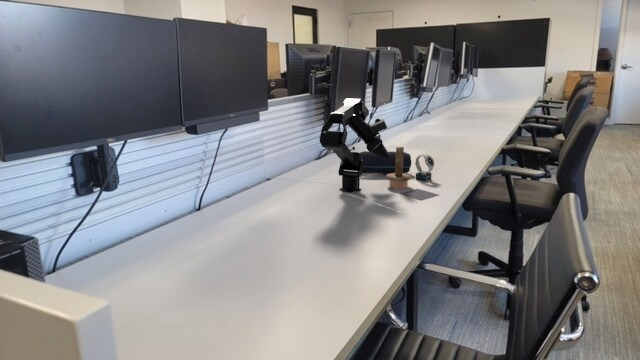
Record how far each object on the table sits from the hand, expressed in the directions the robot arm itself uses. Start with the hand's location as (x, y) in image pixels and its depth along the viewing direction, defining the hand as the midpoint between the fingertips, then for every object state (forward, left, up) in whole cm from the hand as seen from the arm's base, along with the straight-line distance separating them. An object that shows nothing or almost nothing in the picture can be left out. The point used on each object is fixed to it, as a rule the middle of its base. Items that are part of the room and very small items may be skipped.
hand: (387, 155), depth 179 cm
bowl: (+4, -3, -13) cm, 14 cm away
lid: (+4, -3, -9) cm, 11 cm away
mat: (+2, -15, -13) cm, 20 cm away
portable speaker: (+16, +18, -14) cm, 28 cm away
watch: (+21, -2, -14) cm, 25 cm away
